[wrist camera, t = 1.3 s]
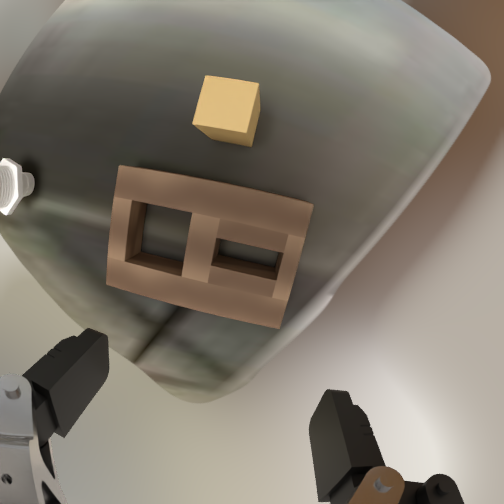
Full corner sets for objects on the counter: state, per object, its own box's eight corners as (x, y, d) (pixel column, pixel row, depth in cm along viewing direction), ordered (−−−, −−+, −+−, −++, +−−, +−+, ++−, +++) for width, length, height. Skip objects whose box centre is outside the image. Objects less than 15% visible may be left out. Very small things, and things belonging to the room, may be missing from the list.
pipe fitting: (9, 183, 28) (-30, 188, 20) (33, 149, 27) (-9, 147, 19) (24, 218, 29) (-17, 228, 21) (49, 185, 28) (6, 190, 20)
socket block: (136, 166, 27) (119, 165, 23) (307, 201, 27) (313, 204, 24) (122, 272, 30) (106, 284, 26) (277, 310, 30) (279, 328, 26)
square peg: (221, 102, 25) (205, 75, 18) (260, 109, 26) (258, 83, 18) (212, 139, 26) (192, 124, 19) (251, 147, 26) (246, 133, 19)
